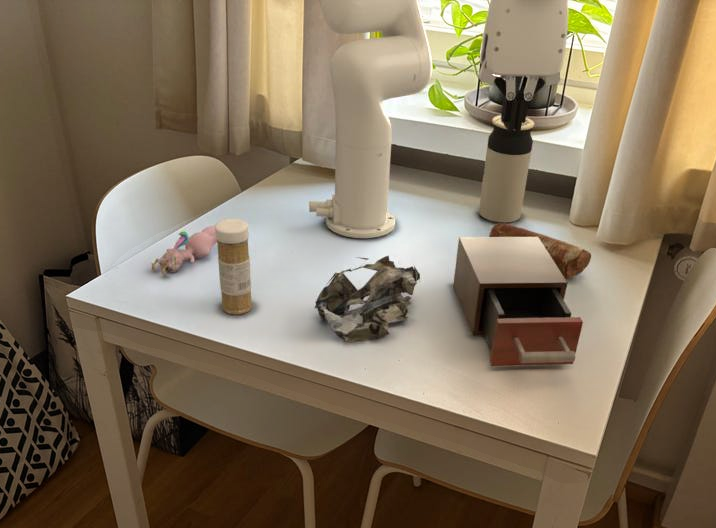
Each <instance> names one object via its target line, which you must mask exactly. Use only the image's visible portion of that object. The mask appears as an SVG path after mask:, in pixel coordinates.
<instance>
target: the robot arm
mask: <svg viewBox="0 0 716 528" xmlns="http://www.w3.org/2000/svg"><path fill="white" fill-rule="evenodd" d="M319 4H320V7H321V11H322V14H323V17H324V19H325V22H326V24H327V26H328V27H329V29H330V30H332V31H333V32H334V33H337V34H339V35H355V34H357V35H358V34H367V33H368V34H369V33H377V32H380V34H381V36H382V37H381V36H379V37H374V38H373V37H372V38H371V37H370V38H363V39H357V40H353V41H349V42H347V43H345V44H342V45H341V46H340V47H339V48H338V49H337V50H336V51H335V52H334V54H333V55H332V57H331V61H330V65H329V66H330V68H329V71H330V73H329V74H330V80H331V87H332V92H333V93H332V94H333V98H334V108H335V109H334V112H335V156H334V157H335V160H334V161H335V163H334V164H335V166H334V167H335V168H334V194H333V193H332V195H331V199H326V201H320V200H309V201H308V212H309V213H316V214H315V215H316V217H325V225H326V227H327V228H328V229H329V230H331V231H332V232H333V233H335V234H338V235H340V236H343V237H347V238H353V239H375V238H378V237H382V236H385V235H388V234H389V233H390V232H392V231H393V230H395V228H396V227H395V226H396V218H395V216H394V215H393V213H391V212H390V211H389V210H388V205H389V189H390V173H391V172H390V171H391V155H392V154H391V153H392V135H393V133H392V132H393V131H392V130H393V129H392V124H391V120H390V118H389V116H388V114H387V113H386V110H385V108H384V106H383V101H387V100H391V99H395V98H401V97H406V96H412V95H416V94H418V93H419V94H420V92H422V91H424V89H426V88H427V87H428V85H429V83H430V81H431V78H432V74H433V59H432V53H431V48H430V44H429V40H428V37H427V32H426V29H425V25H424V21H423V17H422V13H421V10H420V4H419V2H418V0H319ZM568 25H569V0H490V1H489V5H488V10H487V14H486V18H485V24H484V28H483V34H482V39H481V45H480V51H479V62H480V64H481V65H480V68H479V72H478V75H477V78H478V79H479V81H480V82H481V83H483V84H486V85H491V86H495V87H496V88H497V89H498V90H499V91H500V93H501V94H502V95H503V99H502V107H501V113H500V115H501V121H502V122H504V126H505V127H506V128H507V129H508V131H513V130H514V129H515V130H516V131H521V126H522V123H525V120H526V118H527V113H528V108H529V107H528V106H529V101H531V100H533V96H534V95H536V94H537V93H538V92H539V91H540V90H541V89H542V88H544V87H549V86H552V85H557V84H559V83H560V82H561V71H562V69H563V65H564V60H565V55H566V47H567V38H568V27H569V26H568ZM516 77H521V80H520V83H519V87H518V91H517V92H516Z"/></svg>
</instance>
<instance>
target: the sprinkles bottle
mask: <svg viewBox="0 0 716 528" xmlns="http://www.w3.org/2000/svg"><path fill="white" fill-rule="evenodd" d="M248 224H249V223H247V221H245V220H242V219H239V218H226V219H222V220H220V221H218V222H216V223H215V225H214V226H215V237H216V239H217V240H216V241H217V243H216V244H217V262H218V274H219V286H220V293H221V309H222V311H224V312H225V313H227V314H228V315H229V314H230V315H236V316H237V315H244V314H246V313H248V312H250V311H251V310H252V308H253V302H252V275H251V259H250V251H249V237H250V232H249V225H248Z"/></svg>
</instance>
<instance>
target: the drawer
mask: <svg viewBox="0 0 716 528" xmlns="http://www.w3.org/2000/svg"><path fill="white" fill-rule="evenodd" d="M583 323H584V321H583V319H582V318H581V317H580V316H572V312H571V310H570V308H569V307H568V305H567V303H566V301H565V299H564V300H563V298H562V297H561V295H560V293H559V292H558V290H557V288H484V295H483V302H482V309H481V316H480V324H481V326H482V329H483V331H484V334H485V336H484V337H485V339H486V341H487V344H488V346H489V348H490V356H489V364H490V365H491V367H504V366H505V367H511V366H513V367H514V366H515V367H516V366H548V365H549V366H551V365H556V366H557V365H574V362H575V361H576V354H577V349H578V345H579V340H580V336H581V332H582V328H583V325H584V324H583Z"/></svg>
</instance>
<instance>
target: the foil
mask: <svg viewBox="0 0 716 528" xmlns="http://www.w3.org/2000/svg"><path fill="white" fill-rule="evenodd" d="M356 258H358V259H361V260H364V261H368V260H370V258H368V257H366V258H365V257H359V256H358V257H357V256H356ZM359 269H366V270H370V271H375V273H374V274H373V275H372V276H371V277H370V278H369V280H368V281H367V282H366V283H365V284H364V285H363V286H362V287H360V288H359V289H357V287H356V286H355V285H354V283H352V281H351V280H350V279H349V278H348V276H346V275H345V273H347V272H350V273H352V272H353V271H357V270H359ZM420 280H421V273H420V272H419V271H418V269H417V268H416V266H415V265H413V266H410V267H406V268H405V267H397V266H396V265H395V261H394V260H393V261H392V260H390V256H389V255H385V256H384V257H382V258H380V259H377V260H376V262H375V263H366V264H364V265H360V266H358V267H356V268H353V269H351V268H348V269H345V270H341V272H334V273H333V275H332V276H331V278H330V279H329V280H328V282H327V283H326V285H325V286H324V287H323V288H322V290H321V291H320V293H319V295H318V296H317V299H316V301H315V305H314V309H316V310H317V312H318V316H319V318H320V319H321V320H322V321H325V320H327V322H328V323H329V326H330V327H331V329H332V330H333V331H334V334H335V335H336V336H337V337H339V338H341V339H342V340H343V341H344V342H345V343H346V342H347V343H353V342H358V341H365V340H370V339H371V340H372V339H380V338H383V337H385V336H387V335H390V332H389V323H390V324H391V323H395V322H396V323H397V322H400V321H401V322H402V321H407V319H409V316H408V315H409V314H410V312H409V308H408V307H409V306H410V305H412V303H411V302H410V300H411V299H412V296H413V295H414V291H415V288H416V285H417V284H418V281H420ZM402 294H407V296H403V295H402ZM367 297H368V298H367ZM365 298H367V299H366V300H364V299H365ZM355 305H361V306H359V307H357V308H354V309H350V307H351V306H355ZM407 314H408V315H407Z"/></svg>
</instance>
